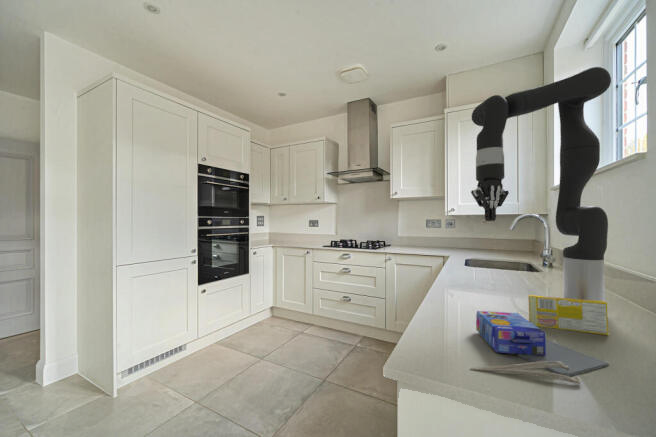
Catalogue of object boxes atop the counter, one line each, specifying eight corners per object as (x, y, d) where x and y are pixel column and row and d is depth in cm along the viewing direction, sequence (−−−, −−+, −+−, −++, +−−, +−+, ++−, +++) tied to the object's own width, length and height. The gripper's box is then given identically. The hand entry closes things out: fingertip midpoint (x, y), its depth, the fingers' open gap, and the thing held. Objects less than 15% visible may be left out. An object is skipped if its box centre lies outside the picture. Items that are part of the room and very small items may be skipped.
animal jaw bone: (565, 366, 51) (565, 357, 51) (582, 387, 47) (583, 378, 47) (466, 365, 55) (466, 357, 55) (474, 384, 51) (473, 375, 50)
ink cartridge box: (517, 311, 68) (554, 337, 54) (518, 332, 68) (554, 364, 54) (475, 309, 70) (500, 333, 56) (475, 330, 70) (500, 360, 56)
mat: (531, 335, 68) (531, 333, 68) (608, 365, 54) (608, 363, 54) (492, 342, 64) (492, 340, 64) (564, 377, 50) (564, 374, 50)
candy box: (604, 332, 70) (604, 300, 70) (609, 336, 68) (608, 303, 68) (528, 323, 76) (528, 294, 76) (530, 325, 74) (530, 295, 74)
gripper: (483, 160, 77) (484, 221, 77) (517, 163, 81) (518, 220, 81) (463, 165, 84) (463, 221, 84) (495, 168, 88) (495, 220, 88)
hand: (490, 220), depth 82 cm, fingers closed
